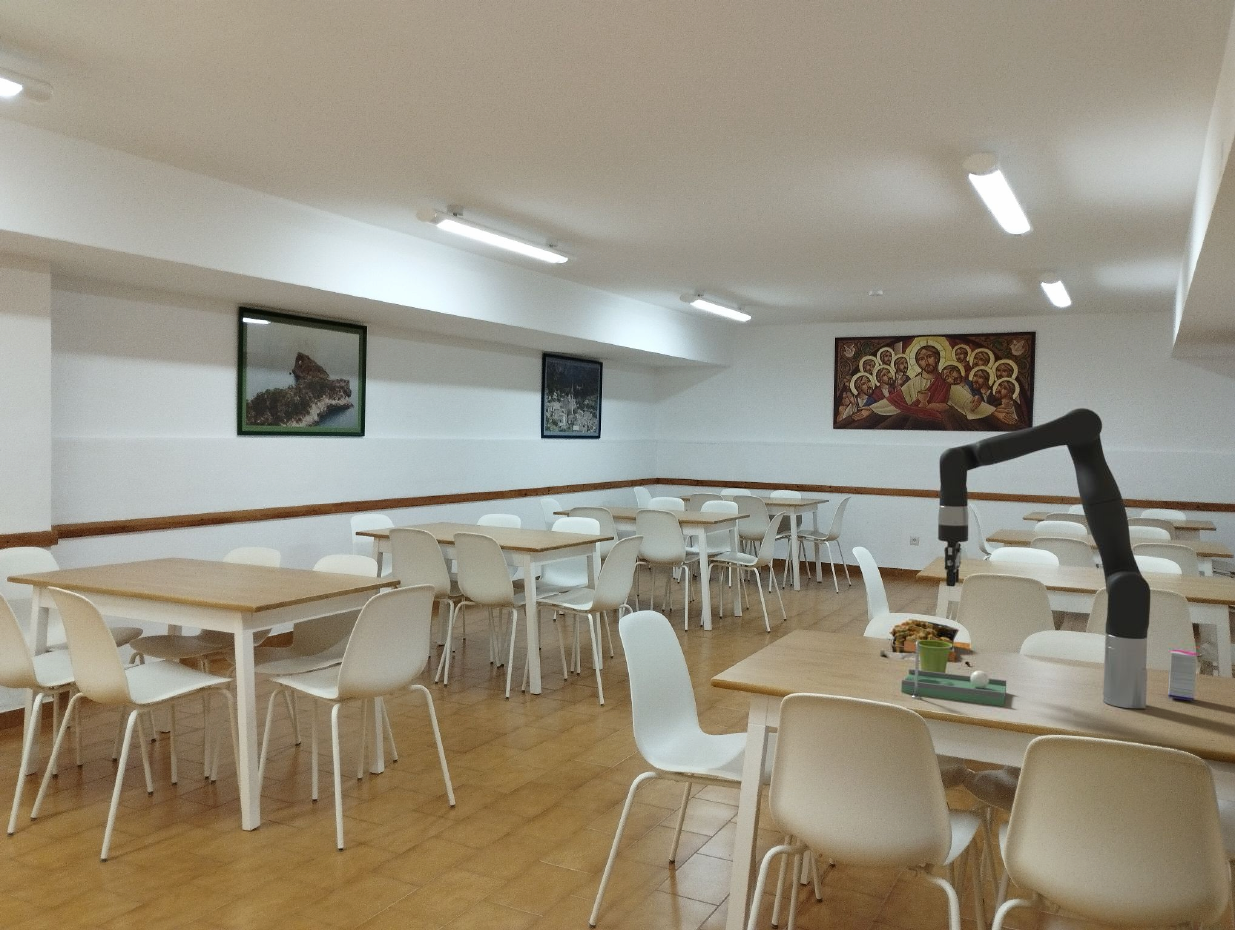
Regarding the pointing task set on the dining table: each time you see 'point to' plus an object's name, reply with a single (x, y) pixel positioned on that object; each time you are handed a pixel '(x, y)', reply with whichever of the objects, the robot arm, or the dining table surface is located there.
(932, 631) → the food tray
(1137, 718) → the dining table surface
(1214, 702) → the dining table surface
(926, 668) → the plant pot
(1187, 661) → the supplement box
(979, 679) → the ball
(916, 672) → the pin
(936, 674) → the lane
